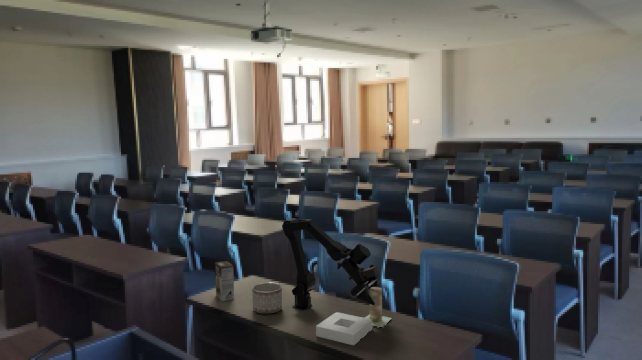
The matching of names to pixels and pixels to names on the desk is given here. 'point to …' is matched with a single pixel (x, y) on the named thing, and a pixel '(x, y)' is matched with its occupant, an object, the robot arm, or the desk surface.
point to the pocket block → (344, 328)
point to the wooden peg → (376, 304)
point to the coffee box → (224, 280)
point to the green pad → (380, 324)
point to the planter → (267, 297)
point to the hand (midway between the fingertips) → (378, 301)
